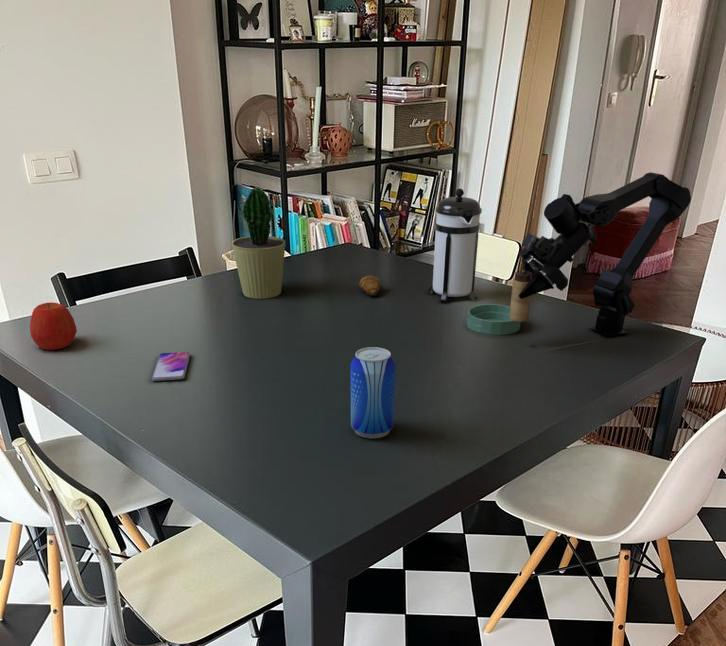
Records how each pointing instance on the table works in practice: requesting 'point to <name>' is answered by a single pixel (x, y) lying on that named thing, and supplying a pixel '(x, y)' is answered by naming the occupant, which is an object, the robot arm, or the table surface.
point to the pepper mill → (518, 305)
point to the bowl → (491, 320)
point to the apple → (52, 326)
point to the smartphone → (171, 366)
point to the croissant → (370, 285)
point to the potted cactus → (259, 250)
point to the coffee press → (456, 246)
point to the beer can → (372, 392)
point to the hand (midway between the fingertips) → (516, 294)
